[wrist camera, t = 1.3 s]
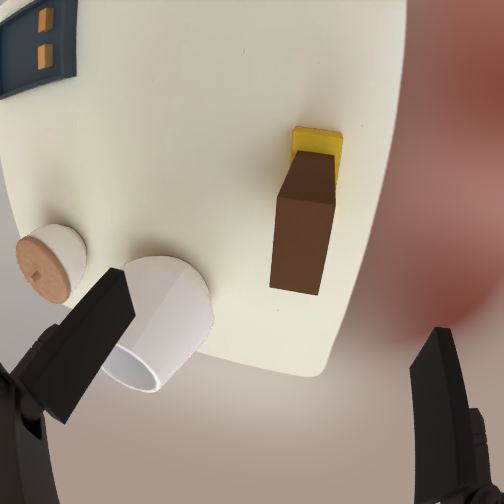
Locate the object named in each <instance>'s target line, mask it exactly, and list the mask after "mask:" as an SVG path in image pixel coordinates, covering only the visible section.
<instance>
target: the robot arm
mask: <svg viewBox="0 0 504 504" xmlns="http://www.w3.org/2000/svg"><path fill="white" fill-rule="evenodd" d="M135 316H136V314H135V310H134V307H133V303H132V299H131V296H130V292H129V288H128V284H127V280H126V276H125V272H124V271H123V270H119V269H115V268H110V269H109V270H108V271H107V272H106V273H105V274H104V275H103V276H102V277H101V278H100V279H99V280H98V282H97V283H96V284H95V285H94V286H93V287H92V288H91V289H90V290H89V291H88V293H87V294H86V295H85V296H84V297H83V298H82V299H81V300H80V302H79V303H78V304H77V305H76V306H75V307H74V308H73V310H72V311H71V312H70V313H69V314H68V315H67V317H66V318H65V319H64V320H63V321H62V323H61V324H60V325H57V324H54V325H52V326H50V327H49V328H47V329H46V330H45V331H44V332H43V333H42V334H41V336H40V337H39V338H38V341H36V342H35V343H34V344H33V345H32V348H30V349H29V350H28V352H27V353H26V354H25V356H24V357H23V358H22V359H21V361H20V362H19V363H18V365H17V366H16V367H15V368H14V370H13V371H12V372H11V373H10V374H9V373H8V372H7V371H6V370H5V368H4V367H3V366H2V364H1V363H0V504H60V503H59V499H58V495H57V491H56V486H55V482H54V477H53V472H52V467H51V461H50V455H49V449H48V442H47V434H46V426H45V418H44V414H43V411H44V410H46V411H47V412H48V413H49V414H50V415H51V416H52V417H53V418H55V419H56V420H58V421H60V422H61V423H63V424H65V423H66V422H67V420H68V418H69V417H70V415H71V413H72V412H73V410H74V409H75V407H76V405H77V404H78V402H79V400H80V399H81V397H82V396H83V394H84V393H85V391H86V389H87V388H88V386H89V385H90V383H91V382H92V380H93V378H94V377H95V375H96V374H97V372H98V371H99V369H100V368H101V366H102V365H103V363H104V362H105V360H106V359H107V357H108V356H109V354H110V353H111V351H112V350H113V348H114V347H115V345H116V344H117V342H118V341H119V340H120V338H121V337H122V335H123V334H124V332H125V331H126V329H127V328H128V326H129V325H130V324H131V322H132V321H133V319H134V318H135ZM409 369H410V378H411V387H412V399H413V411H414V426H415V427H414V429H415V498H414V504H435V503H438V502H440V504H504V493H502V492H500V490H499V489H498V487H497V486H495V485H493V484H492V482H491V476H490V463H489V453H488V445H487V444H486V442H487V438H486V434H485V432H486V431H485V425H484V419H483V417H482V415H481V413H480V412H479V410H478V408H469V406H468V401H467V395H466V390H465V385H464V381H463V376H462V372H461V368H460V363H459V359H458V355H457V351H456V348H455V344H454V340H453V337H452V333H451V330H450V328H441V327H434V329H433V331H432V333H431V334H430V336H429V338H428V339H427V341H426V343H425V344H424V346H423V348H422V349H421V351H420V352H419V354H418V356H417V357H416V359H415V360H414V362H413V364H412V365H411V366H410V368H409Z"/></svg>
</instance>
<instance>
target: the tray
mask: <svg viewBox="0 0 504 504" xmlns="http://www.w3.org/2000/svg"><path fill="white" fill-rule="evenodd" d="M77 2H78V0H34V1H33V2H31V3H29V4H28V5H26V6H25V7H23V8H21V9H20V10H18V11H17V12H15V13H14V14H12V15H11V16H9V17H8V18H6V19H5V20H3V21H2V22H1V23H0V100H2V99H5V98H8V97H10V96H13V95H16V94H18V93H21V92H24V91H27V90H30V89H33V88H36V87H39V86H42V85H46V84H49V83H52V82H56V81H59V80H63V79H67V78H71V77H75V76H76V19H77ZM45 8H54V20H53V29H51V30H49V31H47V32H38V29H39V12H40V11H41V10H43V9H45ZM45 44H53V66H51V67H48V68H45V69H40V70H38V47H40V46H42V45H45Z"/></svg>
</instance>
